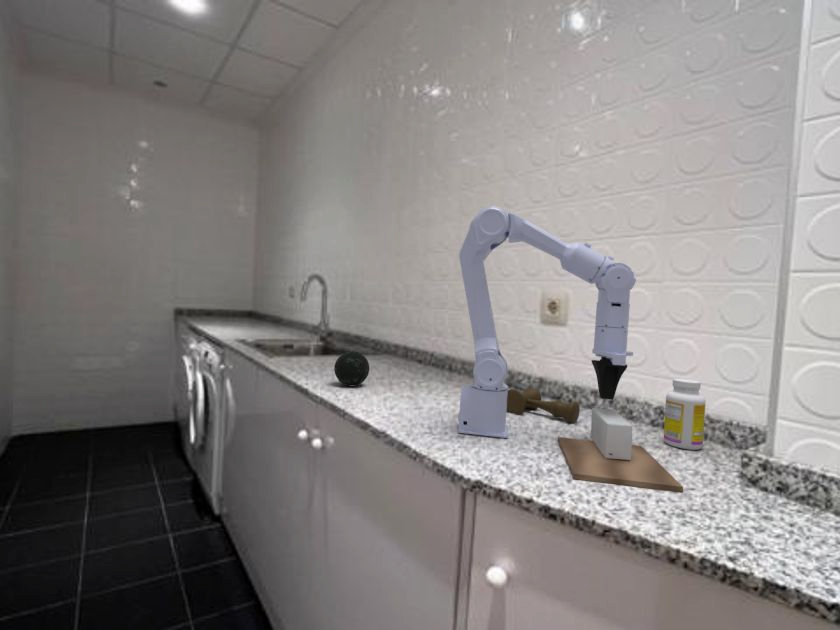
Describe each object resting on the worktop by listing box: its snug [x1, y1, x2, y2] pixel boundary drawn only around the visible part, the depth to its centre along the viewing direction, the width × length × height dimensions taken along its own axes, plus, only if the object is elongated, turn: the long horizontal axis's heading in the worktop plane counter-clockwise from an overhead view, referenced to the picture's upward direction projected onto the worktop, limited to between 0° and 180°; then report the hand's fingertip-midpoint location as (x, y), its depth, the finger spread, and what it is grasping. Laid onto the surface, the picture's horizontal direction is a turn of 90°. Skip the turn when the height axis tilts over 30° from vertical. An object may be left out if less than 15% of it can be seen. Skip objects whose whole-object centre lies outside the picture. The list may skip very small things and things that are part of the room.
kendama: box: [506, 387, 581, 424], centre depth 105 cm, size 6×10×20 cm
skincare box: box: [590, 407, 633, 460], centre depth 79 cm, size 6×4×12 cm
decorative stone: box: [333, 350, 370, 386], centre depth 127 cm, size 10×10×10 cm
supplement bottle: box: [663, 378, 706, 451], centre depth 86 cm, size 7×7×13 cm
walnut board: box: [557, 436, 684, 493], centre depth 74 cm, size 15×19×1 cm
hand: (606, 398), depth 83 cm, fingers closed
